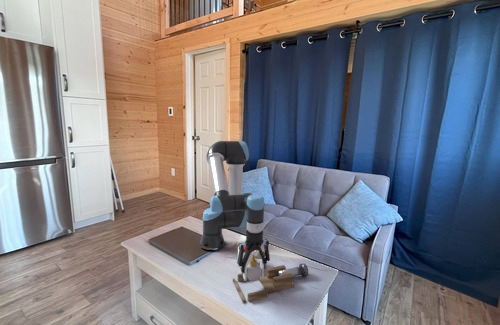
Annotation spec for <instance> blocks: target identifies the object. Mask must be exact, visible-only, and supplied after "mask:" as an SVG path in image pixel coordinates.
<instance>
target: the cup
mask: <svg viewBox="0 0 500 325" xmlns="http://www.w3.org/2000/svg"><path fill="white" fill-rule="evenodd" d="M246 248H247V246H245V249H244V254H243V257H244V255H245V252H246ZM239 250H240V247H239V246H238V247H237V256H238V255H239ZM256 253H258V250H254V251H252V253H251V254H250V256H249V258H248V261H247V263H246V266H247V265H248V264H250V260H251V259H252V257H253V255H254V257H255V255H256ZM255 259H256V258H255ZM256 260H258V259H256ZM237 266H238V267H239V265H238V264H237ZM239 268H240V269H241V267H239Z"/></svg>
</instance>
